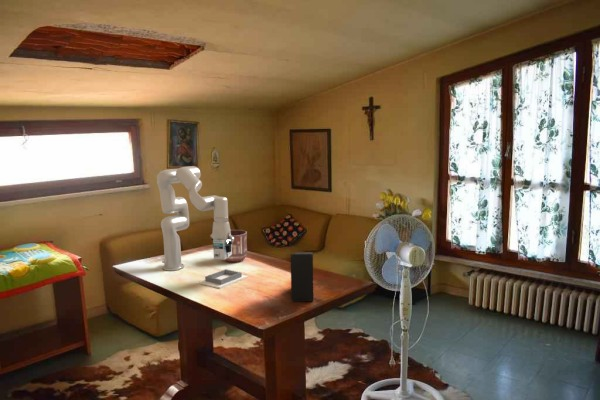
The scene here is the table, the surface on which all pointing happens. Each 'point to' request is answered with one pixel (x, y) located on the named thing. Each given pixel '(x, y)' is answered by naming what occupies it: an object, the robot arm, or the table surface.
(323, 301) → the table surface
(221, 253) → the light bulb box
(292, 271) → the bookend
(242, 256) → the pottery
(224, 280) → the dock board
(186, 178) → the robot arm
